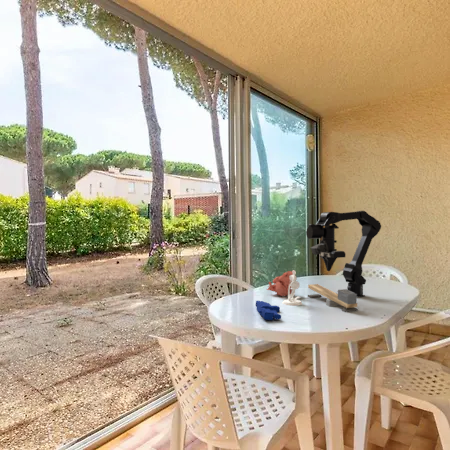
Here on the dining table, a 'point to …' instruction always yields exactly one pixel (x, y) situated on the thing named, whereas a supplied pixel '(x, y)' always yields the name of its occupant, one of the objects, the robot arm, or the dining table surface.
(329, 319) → the dining table surface
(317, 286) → the beam
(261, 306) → the toy gun
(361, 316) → the dining table surface
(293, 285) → the figurine
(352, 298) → the block
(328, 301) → the stand
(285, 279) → the anatomical model
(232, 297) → the dining table surface
